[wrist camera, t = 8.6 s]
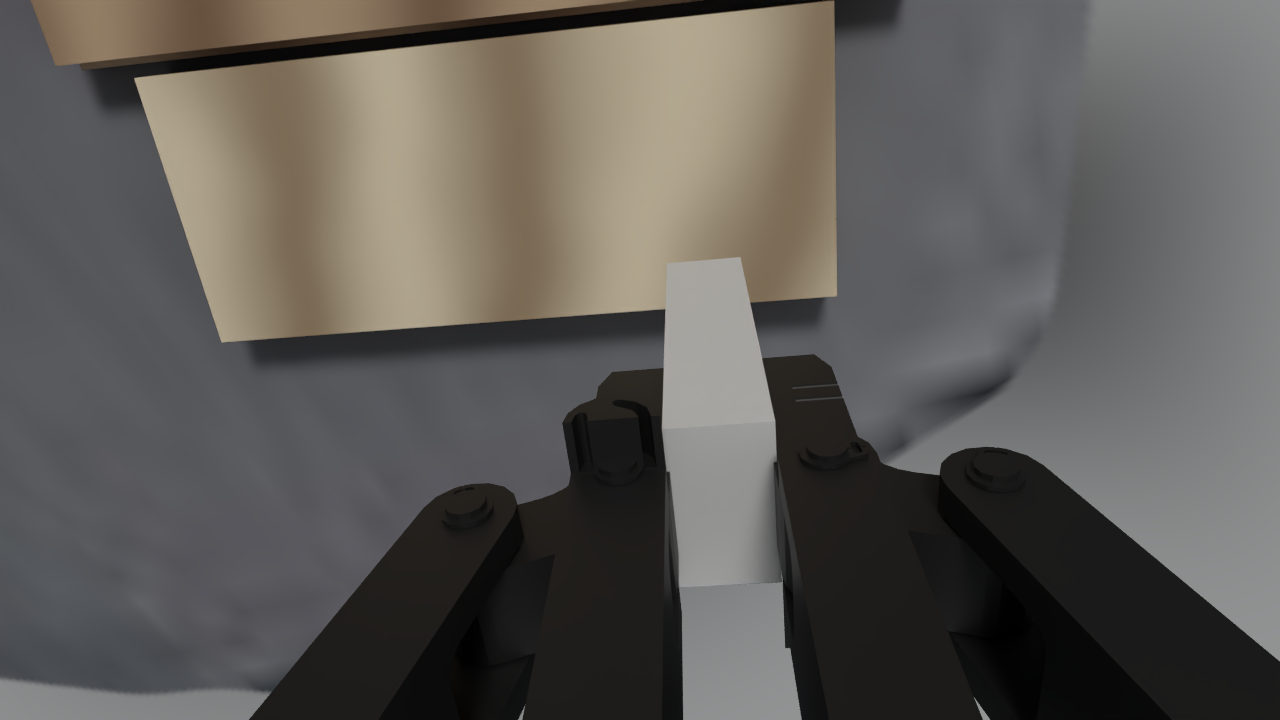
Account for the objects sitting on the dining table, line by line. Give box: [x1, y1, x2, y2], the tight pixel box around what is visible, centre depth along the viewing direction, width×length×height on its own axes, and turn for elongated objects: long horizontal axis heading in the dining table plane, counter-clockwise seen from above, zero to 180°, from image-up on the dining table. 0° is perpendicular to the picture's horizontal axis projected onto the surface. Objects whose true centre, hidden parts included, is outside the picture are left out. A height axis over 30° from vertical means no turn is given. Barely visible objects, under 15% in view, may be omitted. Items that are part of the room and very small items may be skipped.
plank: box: [134, 0, 837, 342], centre depth 23 cm, size 18×8×2 cm, turn 96°
